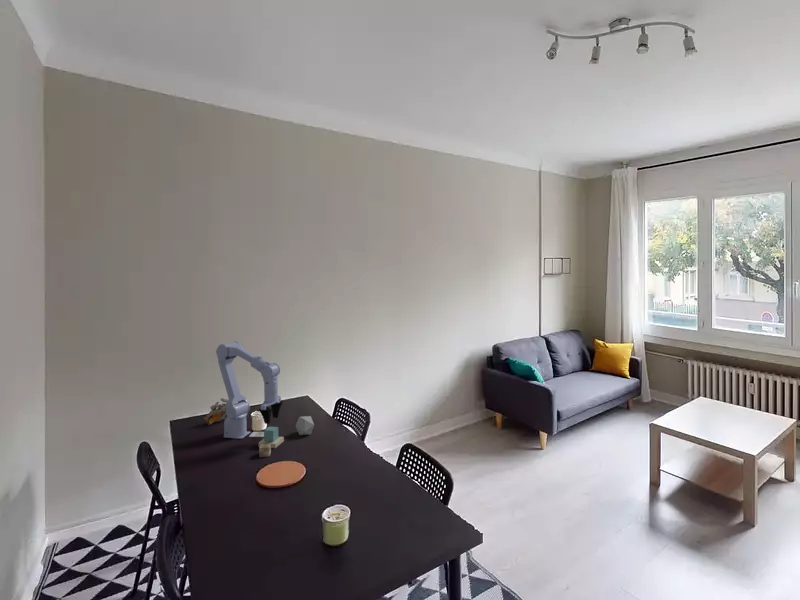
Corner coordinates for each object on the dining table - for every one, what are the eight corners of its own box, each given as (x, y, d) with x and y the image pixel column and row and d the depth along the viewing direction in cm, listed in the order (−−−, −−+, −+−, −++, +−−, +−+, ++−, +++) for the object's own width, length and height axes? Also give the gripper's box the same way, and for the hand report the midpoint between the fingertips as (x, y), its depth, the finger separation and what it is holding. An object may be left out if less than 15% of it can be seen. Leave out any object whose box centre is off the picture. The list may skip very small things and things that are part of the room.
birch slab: (258, 447, 186) (258, 442, 186) (267, 440, 194) (267, 435, 194) (275, 449, 184) (275, 443, 184) (283, 442, 192) (283, 436, 192)
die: (307, 440, 195) (318, 420, 199) (290, 430, 195) (302, 411, 198) (307, 439, 203) (318, 420, 207) (291, 430, 203) (302, 411, 206)
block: (259, 457, 176) (259, 447, 175) (261, 453, 180) (260, 444, 179) (269, 456, 176) (269, 447, 176) (270, 452, 180) (270, 443, 180)
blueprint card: (248, 436, 197) (248, 436, 197) (253, 431, 203) (253, 431, 203) (265, 436, 197) (265, 436, 197) (269, 432, 203) (269, 431, 203)
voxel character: (207, 425, 216) (233, 407, 225) (217, 435, 211) (243, 415, 220) (199, 411, 210) (226, 392, 218) (209, 420, 204) (236, 401, 213)
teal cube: (264, 440, 188) (263, 429, 187) (269, 437, 192) (269, 426, 192) (273, 441, 187) (273, 430, 186) (278, 438, 191) (278, 427, 191)
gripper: (271, 396, 182) (271, 426, 183) (286, 387, 196) (287, 415, 197) (256, 395, 184) (256, 425, 184) (272, 386, 198) (273, 414, 199)
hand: (271, 420), depth 191 cm, fingers open, 7 cm apart
